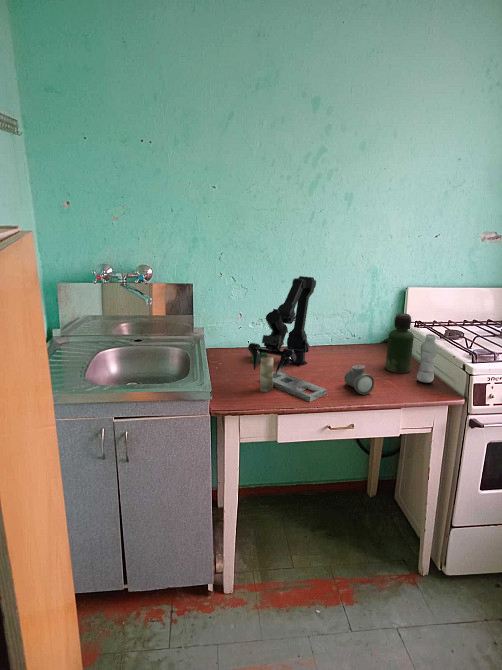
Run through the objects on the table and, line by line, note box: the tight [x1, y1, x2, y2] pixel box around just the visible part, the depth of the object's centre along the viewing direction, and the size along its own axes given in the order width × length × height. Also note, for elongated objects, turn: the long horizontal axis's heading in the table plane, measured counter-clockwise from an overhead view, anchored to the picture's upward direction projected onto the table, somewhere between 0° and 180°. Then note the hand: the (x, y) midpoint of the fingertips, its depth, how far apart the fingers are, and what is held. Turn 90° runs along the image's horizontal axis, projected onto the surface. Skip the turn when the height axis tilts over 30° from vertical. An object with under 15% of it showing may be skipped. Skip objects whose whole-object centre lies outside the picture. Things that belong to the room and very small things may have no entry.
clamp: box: [250, 346, 268, 364], centre depth 218 cm, size 11×6×8 cm, turn 177°
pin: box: [259, 355, 274, 393], centre depth 184 cm, size 5×5×13 cm
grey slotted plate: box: [273, 371, 328, 402], centre depth 188 cm, size 10×26×2 cm, turn 43°
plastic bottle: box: [416, 333, 438, 384], centre depth 194 cm, size 6×7×20 cm
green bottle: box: [384, 312, 415, 374], centre depth 206 cm, size 10×10×25 cm
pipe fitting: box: [343, 364, 375, 396], centre depth 187 cm, size 12×8×10 cm
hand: (265, 371), depth 182 cm, fingers open, 9 cm apart
